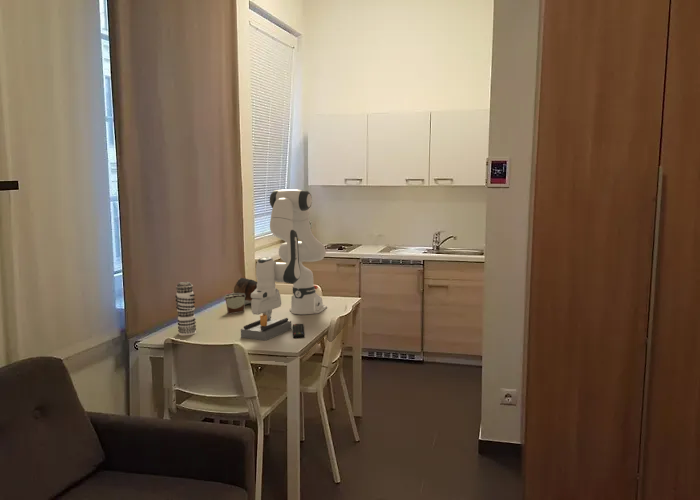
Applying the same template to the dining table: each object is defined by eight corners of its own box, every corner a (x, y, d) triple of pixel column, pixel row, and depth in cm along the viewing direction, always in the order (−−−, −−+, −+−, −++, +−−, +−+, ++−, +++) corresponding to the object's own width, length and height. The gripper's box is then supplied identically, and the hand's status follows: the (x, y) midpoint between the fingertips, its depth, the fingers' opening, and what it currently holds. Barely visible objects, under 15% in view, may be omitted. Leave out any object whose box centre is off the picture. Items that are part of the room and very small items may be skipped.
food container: (242, 309, 345) (241, 291, 344) (246, 311, 340) (245, 293, 339) (221, 312, 339) (220, 294, 338) (225, 314, 334) (224, 296, 332)
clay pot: (274, 286, 348) (235, 277, 354) (269, 312, 348) (230, 303, 354) (283, 285, 362) (245, 276, 368) (279, 310, 363) (241, 301, 369)
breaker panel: (267, 326, 304) (267, 318, 304) (291, 328, 298) (291, 320, 298) (241, 337, 285) (240, 329, 284) (265, 340, 279) (265, 331, 278)
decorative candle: (191, 329, 302) (188, 280, 299) (200, 332, 295) (197, 282, 292) (174, 333, 296) (170, 282, 293) (183, 336, 289) (179, 285, 286)
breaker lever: (263, 324, 290) (262, 314, 290) (267, 325, 289) (266, 314, 289) (260, 325, 289) (260, 315, 288) (264, 326, 288) (264, 315, 287)
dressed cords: (269, 318, 303) (269, 315, 303) (288, 320, 298) (288, 317, 298) (242, 329, 284) (242, 326, 284) (263, 331, 279) (263, 328, 279)
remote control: (293, 339, 281) (292, 336, 281) (292, 326, 305) (292, 324, 304) (304, 338, 281) (304, 336, 281) (303, 326, 305) (303, 323, 305)
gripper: (273, 287, 300) (274, 314, 302) (248, 295, 282) (249, 324, 284) (283, 288, 298) (284, 315, 299) (259, 295, 280) (260, 325, 281)
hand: (267, 319), depth 292 cm, fingers closed
